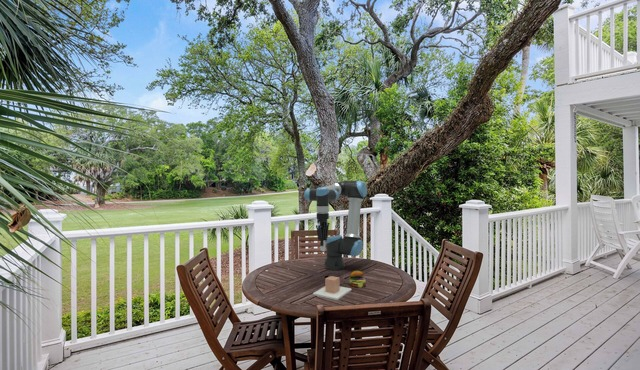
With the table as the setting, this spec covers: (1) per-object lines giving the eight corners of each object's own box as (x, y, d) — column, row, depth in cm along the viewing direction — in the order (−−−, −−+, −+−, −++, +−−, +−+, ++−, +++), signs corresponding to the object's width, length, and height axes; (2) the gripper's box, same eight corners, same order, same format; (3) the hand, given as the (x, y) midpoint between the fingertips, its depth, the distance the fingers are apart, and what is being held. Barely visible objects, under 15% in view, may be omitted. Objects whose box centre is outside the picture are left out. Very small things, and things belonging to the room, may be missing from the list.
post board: (328, 285, 213) (328, 274, 212) (351, 290, 205) (351, 278, 204) (312, 294, 197) (312, 283, 197) (337, 300, 189) (337, 287, 189)
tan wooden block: (330, 288, 205) (330, 275, 205) (339, 290, 202) (339, 277, 202) (325, 291, 200) (325, 278, 199) (334, 293, 197) (334, 280, 196)
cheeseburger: (353, 288, 207) (351, 271, 208) (347, 287, 217) (345, 271, 219) (368, 286, 209) (366, 270, 211) (362, 285, 219) (360, 269, 221)
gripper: (322, 211, 217) (323, 248, 218) (311, 213, 205) (312, 252, 207) (333, 211, 213) (333, 249, 214) (322, 214, 202) (322, 253, 203)
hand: (322, 250), depth 210 cm, fingers closed
